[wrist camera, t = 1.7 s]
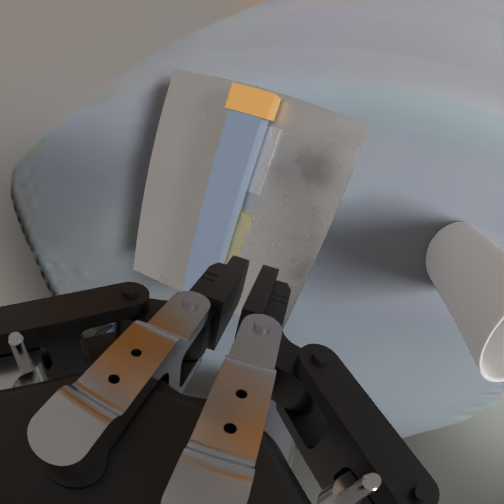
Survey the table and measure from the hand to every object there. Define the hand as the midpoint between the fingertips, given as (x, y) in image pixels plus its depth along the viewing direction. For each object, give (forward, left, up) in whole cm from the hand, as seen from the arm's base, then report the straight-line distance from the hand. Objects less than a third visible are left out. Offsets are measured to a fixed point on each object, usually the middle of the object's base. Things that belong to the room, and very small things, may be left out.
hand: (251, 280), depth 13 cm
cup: (+1, -20, -19) cm, 28 cm away
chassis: (-2, +5, -19) cm, 20 cm away
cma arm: (-3, +5, -13) cm, 14 cm away
